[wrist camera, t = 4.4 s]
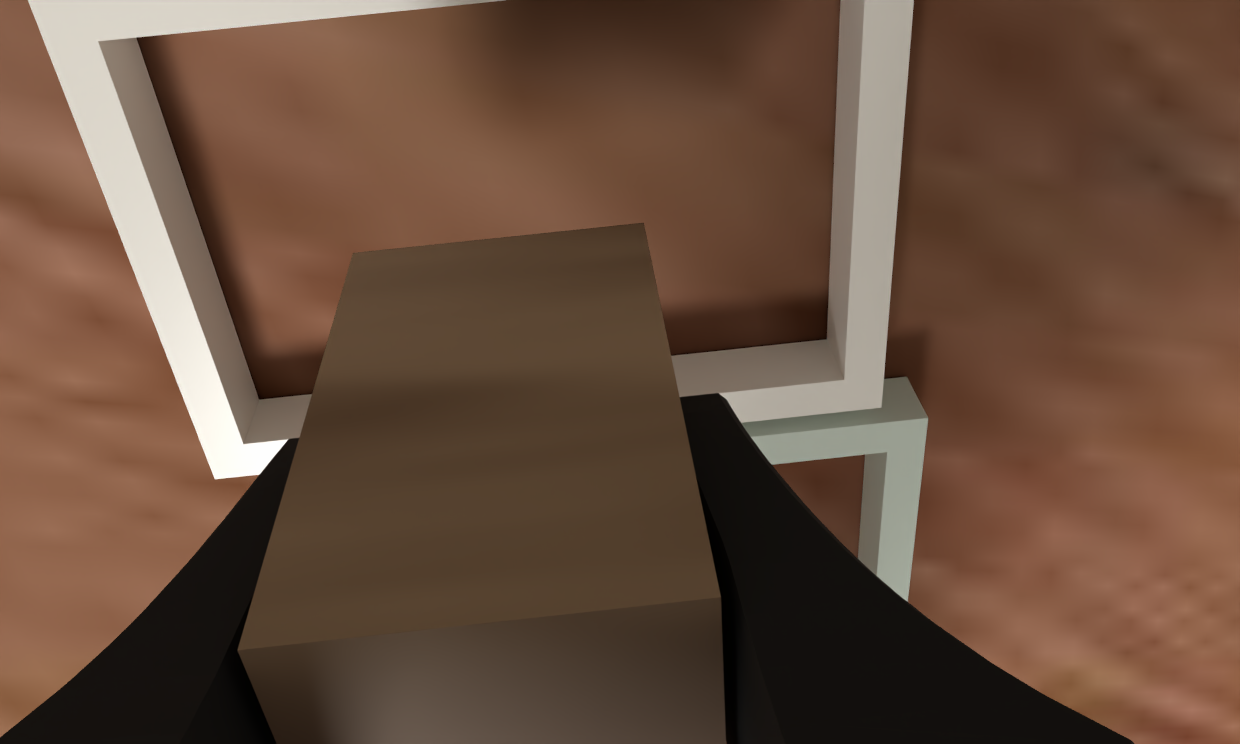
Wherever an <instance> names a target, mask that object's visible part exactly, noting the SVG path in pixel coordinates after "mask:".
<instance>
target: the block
mask: <svg viewBox="0 0 1240 744" xmlns="http://www.w3.org/2000/svg"><path fill="white" fill-rule="evenodd" d="M238 653H239V655H240V658H241V660H242V662H243V665H244V667H245V670H246V672H247V674H248V677H249V679H250V681H251V684H252V686H253V689H254V691H255V693H256V696H257V698H258V701H259V703H260V705H261V708H262V710H263V713H264V715H265V717H266V720H267V722H268V724H269V727H270V729H271V732H272V734H273V736H274V739H275V741H276V744H726V731H725V702H724V673H723V644H722V614H721V595H720V590H719V586H718V581H717V576H716V571H715V566H714V561H713V557H712V552H711V547H710V542H709V537H708V532H707V527H706V523H705V518H704V513H703V508H702V503H701V498H700V494H699V489H698V484H697V479H696V474H695V469H694V465H693V460H692V455H691V450H690V445H689V440H688V435H687V431H686V426H685V421H684V416H683V411H682V406H681V402H680V397H679V392H678V387H677V382H676V377H675V373H674V368H673V363H672V358H671V353H670V348H669V343H668V339H667V334H666V329H665V324H664V319H663V314H662V310H661V305H660V300H659V295H658V290H657V285H656V281H655V276H654V271H653V266H652V261H651V256H650V251H649V247H648V242H647V237H646V232H645V227H644V223H638V224H628V225H618V226H609V227H599V228H590V229H580V230H570V231H561V232H551V233H541V234H532V235H522V236H512V237H503V238H493V239H484V240H474V241H464V242H455V243H445V244H435V245H426V246H416V247H407V248H397V249H387V250H378V251H368V252H358V253H353V255H352V259H351V262H350V266H349V269H348V272H347V276H346V279H345V283H344V286H343V290H342V293H341V296H340V300H339V303H338V307H337V310H336V314H335V317H334V321H333V324H332V327H331V331H330V334H329V338H328V341H327V345H326V348H325V351H324V355H323V358H322V362H321V365H320V369H319V372H318V375H317V379H316V382H315V386H314V389H313V393H312V396H311V399H310V403H309V406H308V410H307V413H306V417H305V420H304V424H303V427H302V430H301V434H300V437H299V441H298V444H297V448H296V451H295V454H294V458H293V461H292V465H291V468H290V472H289V475H288V478H287V482H286V485H285V489H284V492H283V496H282V499H281V502H280V506H279V509H278V513H277V516H276V520H275V523H274V527H273V530H272V533H271V537H270V540H269V544H268V547H267V551H266V554H265V557H264V561H263V564H262V568H261V571H260V575H259V578H258V581H257V585H256V588H255V592H254V595H253V599H252V602H251V606H250V609H249V612H248V616H247V619H246V623H245V626H244V630H243V633H242V636H241V640H240V643H239V647H238Z"/></svg>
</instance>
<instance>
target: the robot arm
mask: <svg viewBox="0 0 1240 744" xmlns="http://www.w3.org/2000/svg"><path fill="white" fill-rule="evenodd" d="M680 402H681V406H682V411H683V416H684V421H685V426H686V431H687V435H688V440H689V445H690V450H691V455H692V460H693V465H694V469H695V474H696V479H697V484H698V489H699V494H700V498H701V503H702V508H703V513H704V518H705V523H706V527H707V532H708V537H709V542H710V547H711V552H712V557H713V561H714V566H715V571H716V576H717V581H718V586H719V590H720V595H721V614H722V644H723V673H724V702H725V731H726V742H727V744H1134V743H1133V742H1132V741H1131V740H1130V739H1128V738H1126V737H1124V736H1122V735H1120V734H1118V733H1116V732H1114V731H1112V730H1110V729H1108V728H1107V727H1105V726H1103V725H1101V724H1099V723H1097V722H1095V721H1093V720H1091V719H1089V718H1087V717H1086V716H1084V715H1082V714H1080V713H1078V712H1076V711H1074V710H1072V709H1070V708H1068V707H1066V706H1064V705H1063V704H1061V703H1059V702H1057V701H1055V700H1053V699H1051V698H1049V697H1047V696H1045V695H1044V694H1042V693H1040V692H1039V691H1037V690H1035V689H1033V688H1032V687H1030V686H1028V685H1027V684H1025V683H1024V682H1022V681H1020V680H1019V679H1017V678H1015V677H1014V676H1012V675H1010V674H1009V673H1007V672H1005V671H1004V670H1002V669H1001V668H999V667H997V666H996V665H994V664H992V663H991V662H989V661H988V660H986V659H985V658H984V657H982V656H981V655H979V654H978V653H976V652H975V651H974V650H972V649H971V648H969V647H968V646H966V645H965V644H964V643H962V642H961V641H959V640H958V639H956V638H955V637H953V636H952V635H951V634H949V633H948V632H946V631H945V630H943V629H942V628H941V627H939V626H938V625H936V624H935V623H934V622H932V621H931V620H930V619H928V618H927V617H926V616H925V615H923V614H922V613H921V612H920V611H918V610H917V609H916V608H915V607H913V606H912V605H911V604H910V603H908V602H907V601H906V600H905V599H903V598H902V597H901V596H900V595H898V594H897V593H896V592H895V591H894V590H892V589H891V588H890V587H889V586H888V585H887V584H885V583H884V582H883V581H882V580H881V579H880V578H879V577H877V576H876V575H875V574H874V573H873V572H872V571H871V570H869V569H868V568H867V567H866V566H865V565H864V564H863V563H862V562H861V561H860V560H859V559H858V558H856V557H855V556H854V555H853V554H852V553H851V552H850V551H849V550H848V549H847V548H846V547H845V546H844V545H843V544H842V543H841V542H840V541H839V540H838V539H837V538H836V537H835V536H834V535H833V534H832V533H831V532H830V531H829V530H828V529H827V528H826V527H825V525H824V524H823V523H822V522H821V521H820V520H819V519H818V518H817V517H816V516H815V515H814V514H813V513H812V512H811V510H810V509H809V508H808V507H807V506H806V505H805V504H804V503H803V502H802V500H801V499H800V498H799V497H798V496H797V495H796V493H795V492H794V491H793V490H792V489H791V487H790V486H789V485H788V484H787V483H786V482H785V480H784V479H783V478H782V477H781V476H780V474H779V473H778V472H777V471H776V470H775V468H774V467H773V466H772V465H771V463H770V462H769V461H768V459H767V458H766V457H765V456H764V454H763V453H762V452H761V450H760V449H759V447H758V446H757V445H756V443H755V442H754V441H753V439H752V438H751V437H750V435H749V434H748V432H747V431H746V429H745V428H744V427H743V425H742V424H741V422H740V421H739V419H738V417H737V416H736V414H735V413H734V411H733V409H732V408H731V406H730V404H729V403H728V401H727V399H725V398H724V397H723V396H721V395H720V394H719V393H713V394H703V395H694V396H685V397H680ZM298 441H299V438H292V439H288V440H287V442H286V443H285V444H284V445H283V446H282V448H281V449H280V450H279V451H278V452H277V454H276V455H275V456H274V457H273V458H272V460H271V461H270V462H269V463H268V465H267V466H266V467H265V468H264V470H263V471H262V472H261V473H260V475H259V476H258V477H257V479H256V480H255V481H254V482H253V484H252V485H251V486H250V487H249V489H248V490H247V491H246V492H245V494H244V495H243V496H242V498H241V499H240V500H239V501H238V503H237V504H236V505H235V506H234V508H233V509H232V510H231V511H230V513H229V514H228V515H227V516H226V518H225V519H224V520H223V521H222V522H221V524H220V525H219V526H218V527H217V528H216V530H215V531H214V532H213V533H212V534H211V536H210V537H209V538H208V539H207V540H206V542H205V543H204V544H203V545H202V546H201V548H200V549H199V550H198V551H197V552H196V554H195V555H194V556H193V557H192V558H191V559H190V561H189V562H188V563H187V564H186V565H185V566H184V567H183V569H182V570H181V571H180V572H179V573H178V574H177V575H176V576H175V577H174V578H173V579H172V581H171V582H170V583H169V584H168V585H167V586H166V587H165V588H164V589H163V590H162V591H161V593H160V594H159V595H158V596H157V597H156V598H155V599H154V600H153V601H152V602H151V603H150V605H149V606H148V607H147V608H146V609H145V610H144V611H143V612H142V613H141V614H140V615H139V616H138V617H137V618H136V619H135V620H134V621H133V622H132V623H131V624H130V625H129V626H128V627H127V628H126V629H125V630H124V631H123V632H122V633H121V634H120V635H119V636H118V637H117V638H116V639H115V640H114V641H113V642H112V643H111V644H110V645H109V646H108V647H106V648H105V649H104V650H103V651H102V652H101V653H100V654H99V655H98V656H97V657H96V658H94V659H93V660H92V661H91V662H90V663H89V664H88V665H87V666H86V667H85V668H84V669H82V670H81V671H80V672H79V673H78V674H77V675H76V676H75V677H74V678H72V679H71V680H70V681H69V682H68V683H67V684H66V685H64V686H63V687H62V688H61V689H60V690H59V691H57V692H56V693H55V694H54V695H52V696H51V697H50V698H49V699H47V700H46V701H45V702H44V703H42V704H41V705H40V706H39V707H37V708H36V709H35V710H34V711H32V712H31V713H30V714H29V715H28V716H26V717H25V718H24V719H23V720H21V721H20V722H19V723H18V724H16V725H15V726H14V727H13V728H11V729H10V730H9V731H8V732H6V733H5V734H4V735H3V736H1V737H0V744H276V741H275V739H274V736H273V734H272V732H271V729H270V727H269V724H268V722H267V720H266V717H265V715H264V713H263V710H262V708H261V705H260V703H259V701H258V698H257V696H256V693H255V691H254V689H253V686H252V684H251V681H250V679H249V677H248V674H247V672H246V670H245V667H244V665H243V662H242V660H241V658H240V655H239V653H238V647H239V643H240V640H241V636H242V633H243V630H244V626H245V623H246V619H247V616H248V612H249V609H250V606H251V602H252V599H253V595H254V592H255V588H256V585H257V581H258V578H259V575H260V571H261V568H262V564H263V561H264V557H265V554H266V551H267V547H268V544H269V540H270V537H271V533H272V530H273V527H274V523H275V520H276V516H277V513H278V509H279V506H280V502H281V499H282V496H283V492H284V489H285V485H286V482H287V478H288V475H289V472H290V468H291V465H292V461H293V458H294V454H295V451H296V448H297V444H298Z"/></svg>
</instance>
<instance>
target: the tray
mask: <svg viewBox="0 0 1240 744" xmlns="http://www.w3.org/2000/svg"><path fill="white" fill-rule="evenodd" d="M28 1H29V4H30V7H31V9H32V12H33V14H34V17H35V19H36V22H37V24H38V27H39V30H40V32H41V35H42V37H43V40H44V42H45V45H46V48H47V50H48V53H49V55H50V58H51V60H52V63H53V66H54V68H55V71H56V73H57V76H58V78H59V81H60V83H61V86H62V89H63V91H64V94H65V96H66V99H67V101H68V104H69V107H70V109H71V112H72V114H73V117H74V119H75V122H76V124H77V127H78V130H79V132H80V135H81V137H82V140H83V142H84V145H85V148H86V150H87V153H88V155H89V158H90V160H91V163H92V165H93V168H94V171H95V173H96V176H97V178H98V181H99V183H100V186H101V189H102V191H103V194H104V196H105V199H106V201H107V204H108V206H109V209H110V212H111V214H112V217H113V219H114V222H115V224H116V227H117V230H118V232H119V235H120V237H121V240H122V242H123V245H124V247H125V250H126V253H127V255H128V258H129V260H130V263H131V265H132V268H133V271H134V273H135V276H136V278H137V281H138V283H139V286H140V288H141V291H142V294H143V296H144V299H145V301H146V304H147V306H148V309H149V312H150V314H151V317H152V319H153V322H154V324H155V327H156V329H157V332H158V335H159V337H160V340H161V342H162V345H163V347H164V350H165V353H166V355H167V358H168V360H169V363H170V365H171V368H172V370H173V373H174V376H175V378H176V381H177V383H178V386H179V388H180V391H181V394H182V396H183V399H184V401H185V404H186V406H187V409H188V411H189V414H190V417H191V419H192V422H193V424H194V427H195V429H196V432H197V435H198V437H199V440H200V442H201V445H202V447H203V450H204V452H205V455H206V458H207V460H208V463H209V465H210V468H211V470H212V473H213V476H214V478H215V479H222V478H231V477H241V476H250V475H259V474H260V473H261V472H262V471H263V470H264V468H265V467H266V466H267V465H268V463H269V462H270V461H271V460H272V458H273V457H274V456H275V455H276V454H277V452H278V451H279V450H280V449H281V448H282V446H283V445H284V444H285V443H286V442H287V440H288V439H292V438H299V437H300V434H301V430H302V427H303V424H304V420H305V417H306V413H307V410H308V406H309V403H310V399H311V396H312V394H308V395H298V396H289V397H280V398H270V399H261V400H259V398H258V395H257V392H256V389H255V386H254V383H253V380H252V377H251V374H250V371H249V368H248V365H247V362H246V360H245V357H244V354H243V351H242V348H241V345H240V342H239V339H238V336H237V333H236V330H235V327H234V324H233V321H232V318H231V315H230V312H229V309H228V307H227V304H226V301H225V298H224V295H223V292H222V289H221V286H220V283H219V280H218V277H217V274H216V271H215V268H214V265H213V262H212V259H211V256H210V254H209V251H208V248H207V245H206V242H205V239H204V236H203V233H202V230H201V227H200V224H199V221H198V218H197V215H196V212H195V209H194V206H193V203H192V201H191V198H190V195H189V192H188V189H187V186H186V183H185V180H184V177H183V174H182V171H181V168H180V165H179V162H178V159H177V156H176V153H175V150H174V148H173V145H172V142H171V139H170V136H169V133H168V130H167V127H166V124H165V121H164V118H163V115H162V112H161V109H160V106H159V103H158V100H157V97H156V95H155V92H154V89H153V86H152V83H151V80H150V77H149V74H148V71H147V68H146V65H145V62H144V59H143V56H142V53H141V50H140V47H139V44H138V42H137V39H136V37H146V36H156V35H166V34H176V33H186V32H196V31H206V30H216V29H226V28H235V27H245V26H255V25H265V24H275V23H285V22H295V21H305V20H315V19H325V18H335V17H345V16H355V15H365V14H375V13H385V12H395V11H405V10H415V9H424V8H434V7H444V6H454V5H464V4H474V3H484V2H494V1H504V0H28ZM913 5H914V0H841V1H840V26H839V50H838V75H837V100H836V124H835V149H834V173H833V198H832V223H831V247H830V272H829V297H828V321H827V339H825V340H816V341H806V342H797V343H788V344H778V345H769V346H759V347H750V348H741V349H731V350H722V351H712V352H703V353H694V354H684V355H675V356H671V358H672V363H673V368H674V373H675V377H676V382H677V387H678V392H679V397H685V396H694V395H703V394H713V393H719V394H720V395H721V396H723V397H724V398H725V399H727V401H728V403H729V404H730V406H731V408H732V409H733V411H734V413H735V414H736V416H737V417H738V419H739V421H740V422H741V423H743V422H753V421H762V420H771V419H781V418H790V417H799V416H809V415H818V414H827V413H836V412H846V411H855V410H864V409H874V408H882V395H883V383H884V370H885V357H886V345H887V332H888V320H889V307H890V294H891V282H892V269H893V257H894V244H895V232H896V219H897V206H898V194H899V181H900V169H901V156H902V144H903V131H904V118H905V106H906V93H907V81H908V68H909V55H910V43H911V30H912V18H913Z"/></svg>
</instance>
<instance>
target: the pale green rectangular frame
mask: <svg viewBox="0 0 1240 744" xmlns="http://www.w3.org/2000/svg"><path fill="white" fill-rule="evenodd" d="M741 424H742V425H743V427H744V428H745V429H746V431H747V432H748V434H749V435H750V437H751V438H752V439H753V441H754V442H755V443H756V445H757V446H758V447H759V449H760V450H761V452H762V453H763V454H764V456H765V457H766V458H767V459H768V461H769V462H770V463H771V465H773V464H782V463H791V462H801V461H810V460H819V459H828V458H838V457H847V456H856V455H865V463H864V478H863V492H862V506H861V520H860V534H859V548H858V559H859V560H860V561H861V562H862V563H863V564H864V565H865V566H866V567H867V568H868V569H869V570H871V571H872V572H873V573H874V574H875V575H876V576H877V577H879V578H880V579H881V580H882V581H883V582H884V583H885V584H887V585H888V586H889V587H890V588H891V589H892V590H894V591H895V592H896V593H897V594H898V595H900V596H901V597H902V598H903V599H905V600H906V601H907V602H908V594H909V585H910V576H911V568H912V559H913V550H914V541H915V532H916V523H917V514H918V505H919V496H920V487H921V478H922V469H923V460H924V451H925V442H926V433H927V425H928V417H927V415H926V413H925V411H924V409H923V407H922V405H921V403H920V401H919V399H918V397H917V395H916V394H915V392H914V390H913V388H912V386H911V384H910V382H909V380H908V378H907V377H898V378H889V379H884V383H883V395H882V408H874V409H864V410H855V411H846V412H836V413H827V414H818V415H809V416H799V417H790V418H781V419H771V420H762V421H753V422H743V423H741Z"/></svg>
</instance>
